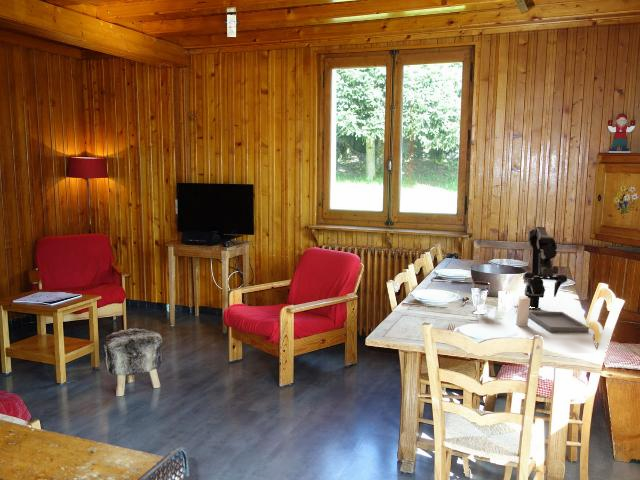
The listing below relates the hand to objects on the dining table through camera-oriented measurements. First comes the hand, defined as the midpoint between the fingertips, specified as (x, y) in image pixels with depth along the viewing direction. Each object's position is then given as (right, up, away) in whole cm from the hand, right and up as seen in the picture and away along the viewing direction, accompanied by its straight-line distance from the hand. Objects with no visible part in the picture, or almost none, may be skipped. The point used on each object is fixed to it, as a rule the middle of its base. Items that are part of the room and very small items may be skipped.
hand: (544, 295), depth 265 cm
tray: (+6, -13, +2) cm, 15 cm away
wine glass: (-26, -10, +16) cm, 32 cm away
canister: (-11, -13, -2) cm, 17 cm away
